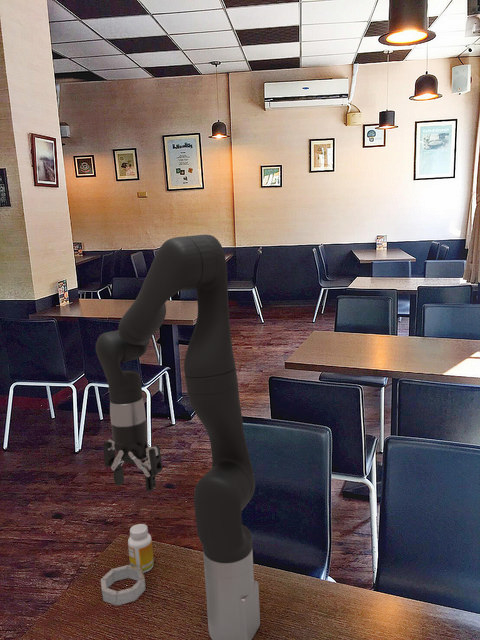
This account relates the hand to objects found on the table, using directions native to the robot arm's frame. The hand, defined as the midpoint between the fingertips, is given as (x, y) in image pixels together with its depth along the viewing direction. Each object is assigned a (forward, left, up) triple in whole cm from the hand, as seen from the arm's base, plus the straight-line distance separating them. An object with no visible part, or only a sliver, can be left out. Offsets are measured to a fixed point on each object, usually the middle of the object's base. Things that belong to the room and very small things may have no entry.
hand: (135, 487), depth 115 cm
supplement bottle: (0, 0, -20) cm, 20 cm away
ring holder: (-1, +8, -20) cm, 21 cm away
